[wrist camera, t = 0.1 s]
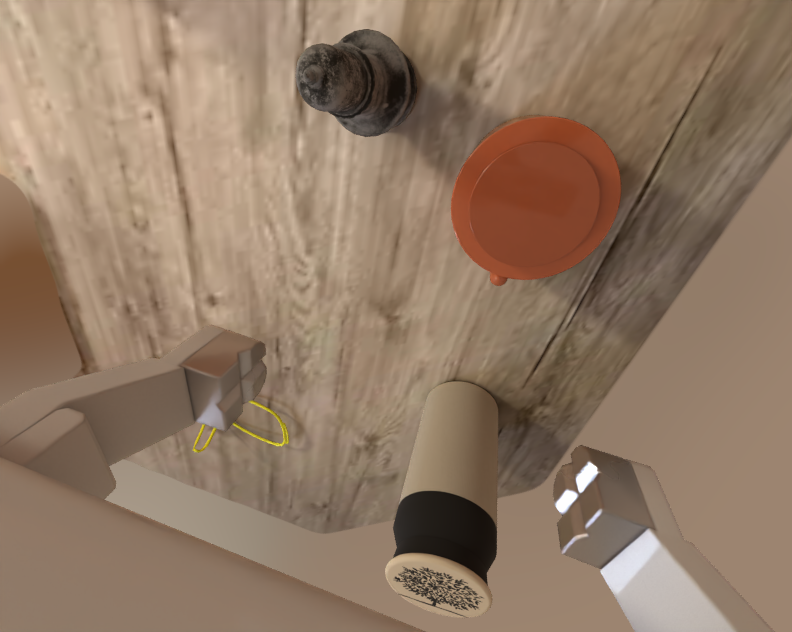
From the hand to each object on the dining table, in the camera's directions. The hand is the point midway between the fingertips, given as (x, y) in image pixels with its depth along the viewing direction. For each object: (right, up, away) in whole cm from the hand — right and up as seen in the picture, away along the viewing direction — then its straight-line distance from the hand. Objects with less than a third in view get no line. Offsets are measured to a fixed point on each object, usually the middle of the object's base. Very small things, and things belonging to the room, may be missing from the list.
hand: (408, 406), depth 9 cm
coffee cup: (+9, +12, +18) cm, 23 cm away
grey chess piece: (-1, +19, +17) cm, 26 cm away
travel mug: (+7, -8, +30) cm, 32 cm away
